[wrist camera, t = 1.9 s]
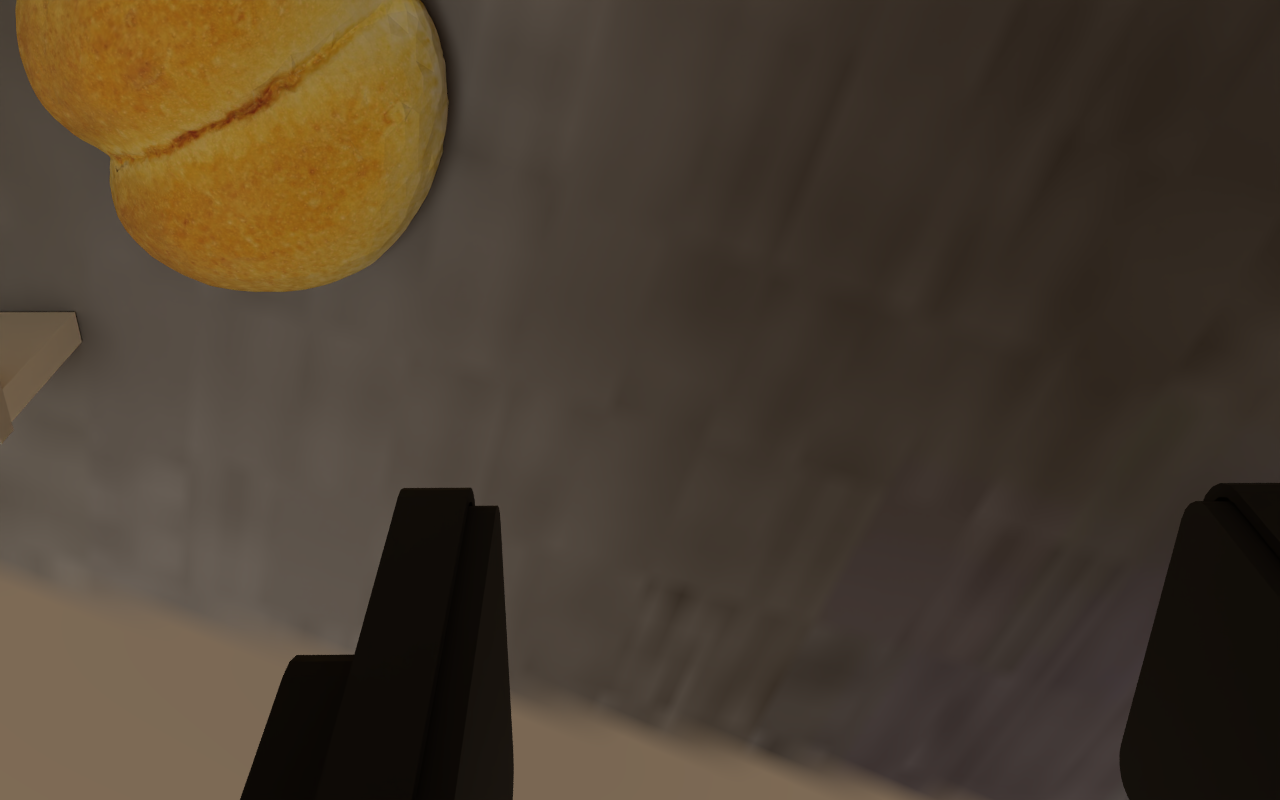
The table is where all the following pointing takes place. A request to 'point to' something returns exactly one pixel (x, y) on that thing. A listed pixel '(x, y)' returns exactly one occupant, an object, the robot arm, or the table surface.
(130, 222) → the bread roll
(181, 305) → the table surface
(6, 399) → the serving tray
